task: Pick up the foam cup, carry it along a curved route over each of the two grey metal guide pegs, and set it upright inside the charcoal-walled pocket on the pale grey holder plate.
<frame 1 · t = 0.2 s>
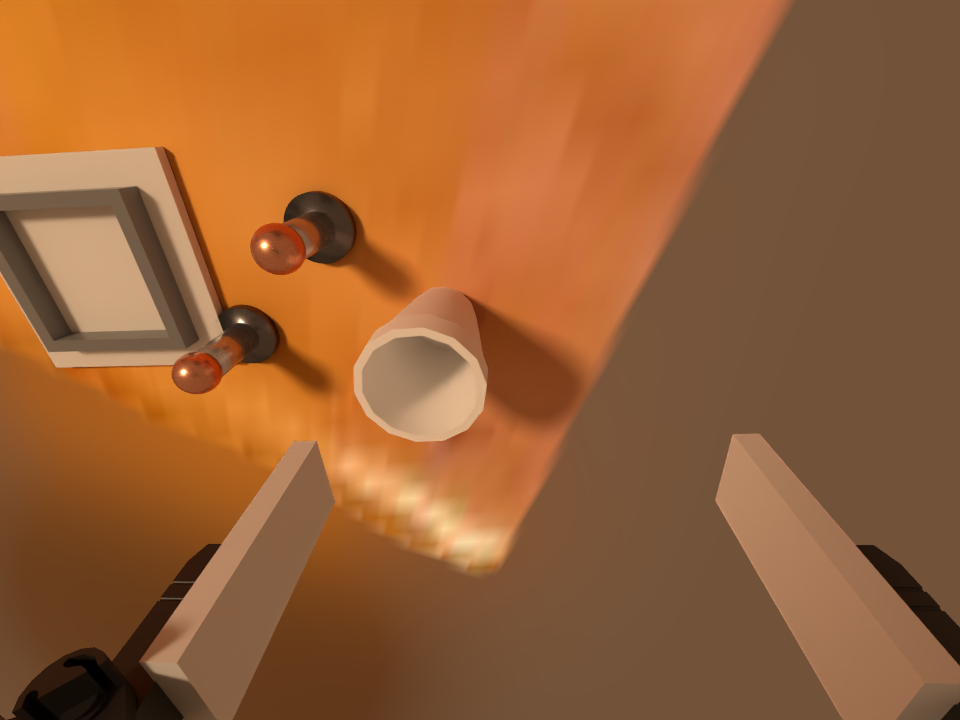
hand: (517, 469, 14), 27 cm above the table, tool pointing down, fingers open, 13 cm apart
guide pegs: (283, 283, 40), on the table
foam cup: (443, 317, 41), on the table
holder: (107, 269, 40), on the table
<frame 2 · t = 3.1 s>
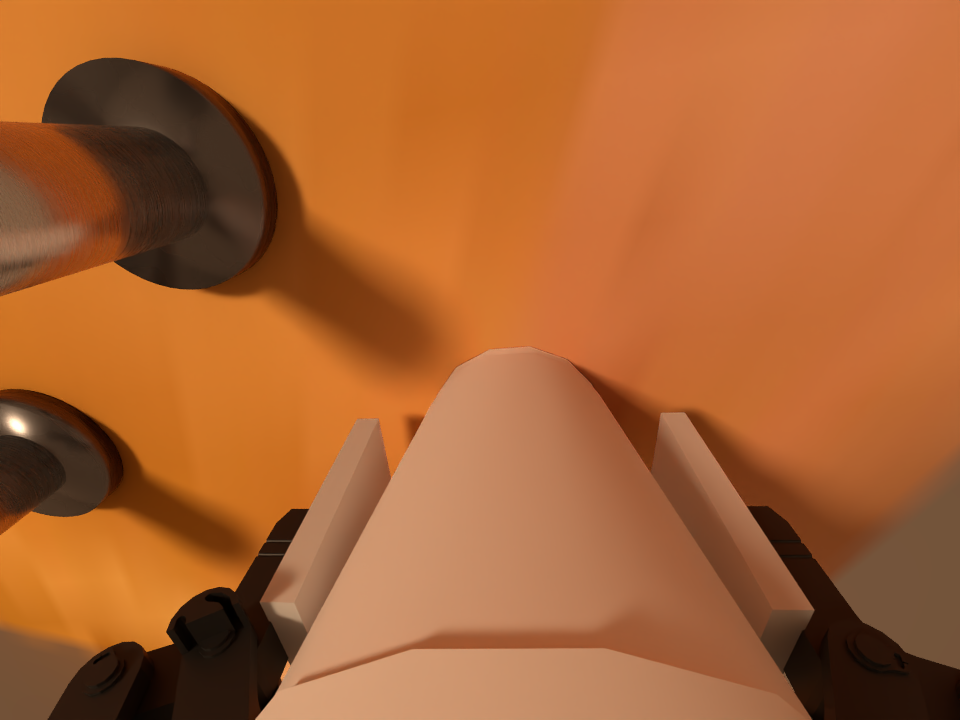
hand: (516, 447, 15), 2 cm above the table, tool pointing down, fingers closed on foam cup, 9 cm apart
guide pegs: (103, 339, 15), on the table
foam cup: (515, 417, 16), on the table, touching gripper
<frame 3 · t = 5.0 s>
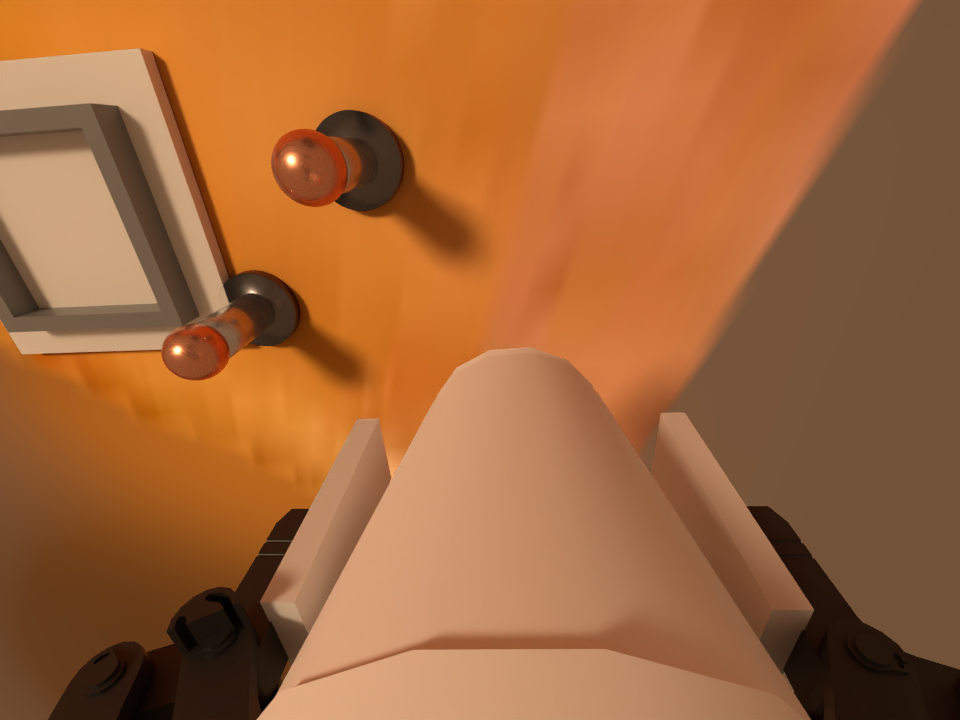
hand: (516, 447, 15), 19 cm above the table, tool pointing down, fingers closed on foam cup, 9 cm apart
guide pegs: (307, 240, 31), on the table
foam cup: (515, 417, 16), point 18 cm above the table, touching gripper
holder: (82, 225, 32), on the table
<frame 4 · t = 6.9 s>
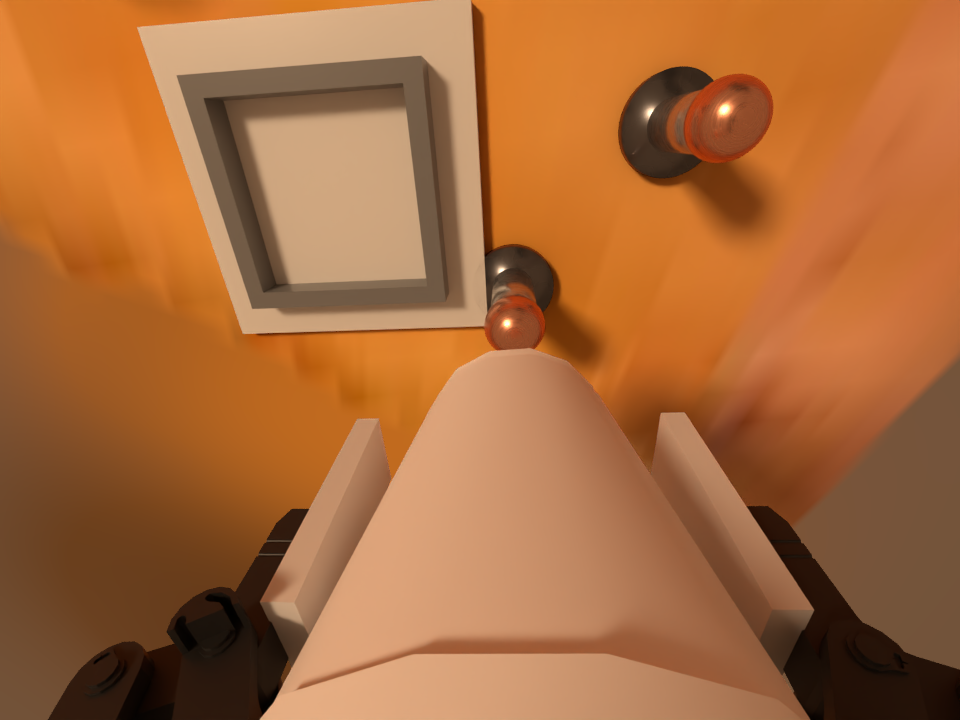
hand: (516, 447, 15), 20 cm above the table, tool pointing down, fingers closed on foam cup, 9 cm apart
guide pegs: (582, 212, 30), on the table
foam cup: (516, 418, 16), point 18 cm above the table, touching gripper
holder: (340, 194, 30), on the table
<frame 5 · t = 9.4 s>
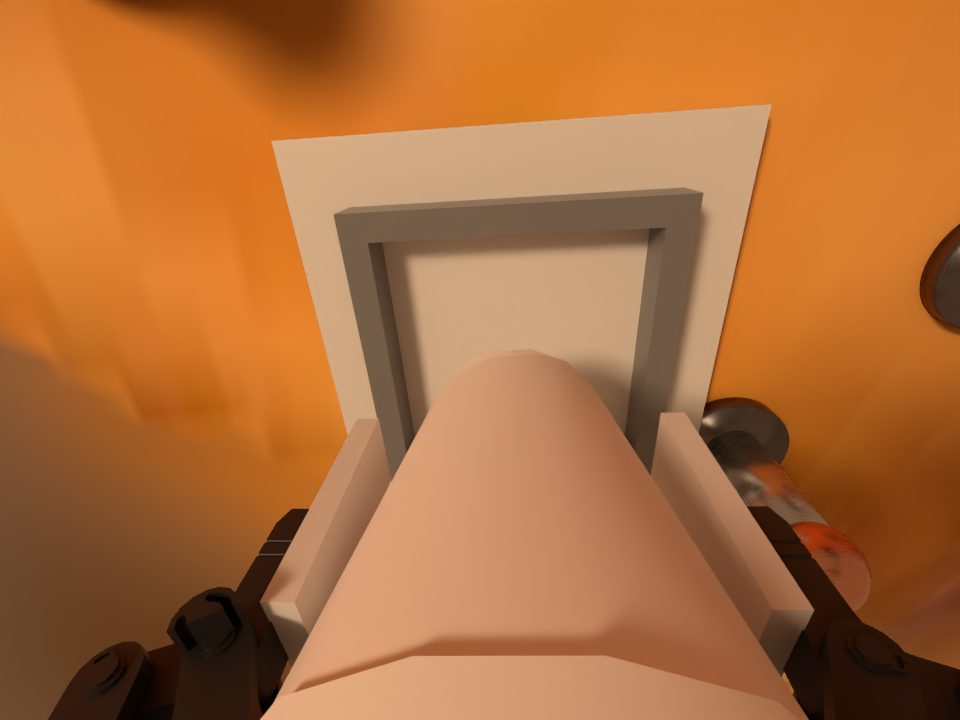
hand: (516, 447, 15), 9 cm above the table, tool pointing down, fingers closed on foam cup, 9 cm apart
guide pegs: (842, 363, 22), on the table
foam cup: (515, 419, 16), point 7 cm above the table, touching gripper
holder: (515, 338, 22), on the table
when the fingers open (4 cm above the table, at t = 11.1 s): foam cup drops 1 cm, resting on holder.
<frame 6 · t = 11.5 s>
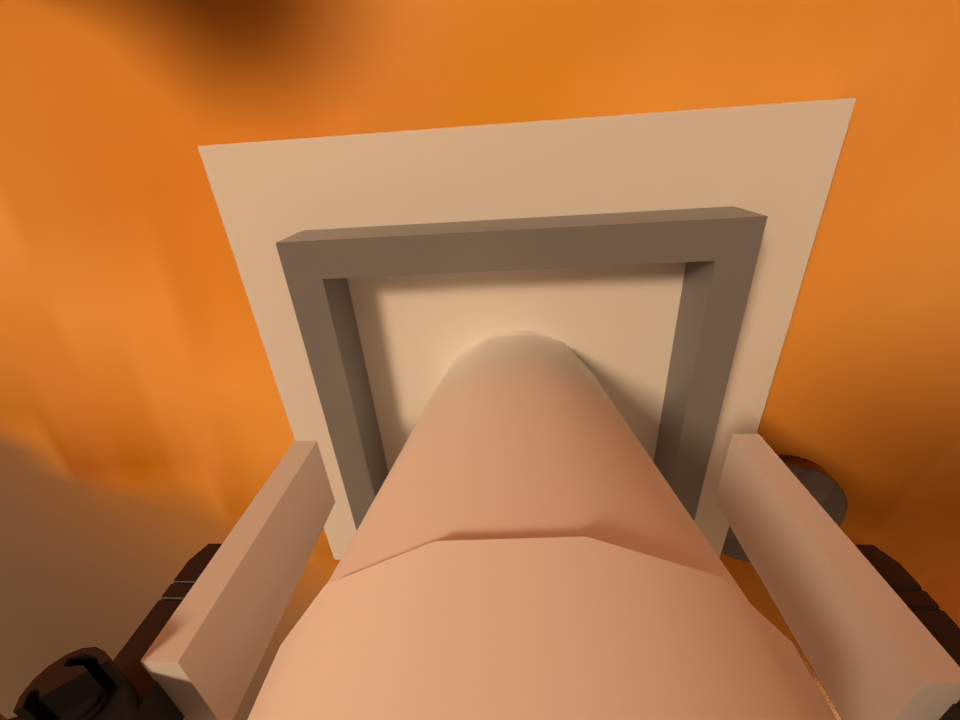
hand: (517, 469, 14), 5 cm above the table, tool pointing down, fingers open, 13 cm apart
guide pegs: (916, 417, 18), on the table
foam cup: (516, 397, 18), point 1 cm above the table, touching holder
holder: (514, 386, 18), on the table
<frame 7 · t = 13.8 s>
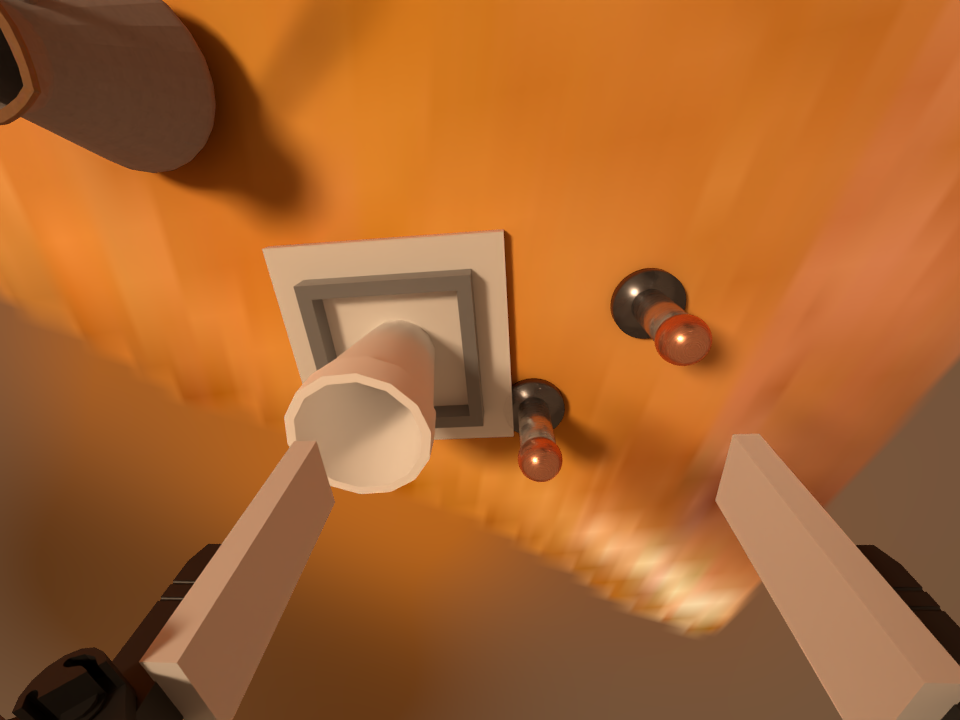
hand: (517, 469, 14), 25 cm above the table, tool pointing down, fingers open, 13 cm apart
guide pegs: (585, 356, 39), on the table
coffee pot: (173, 13, 29), on the table
foam cup: (401, 350, 39), point 1 cm above the table, touching holder
holder: (402, 347, 39), on the table
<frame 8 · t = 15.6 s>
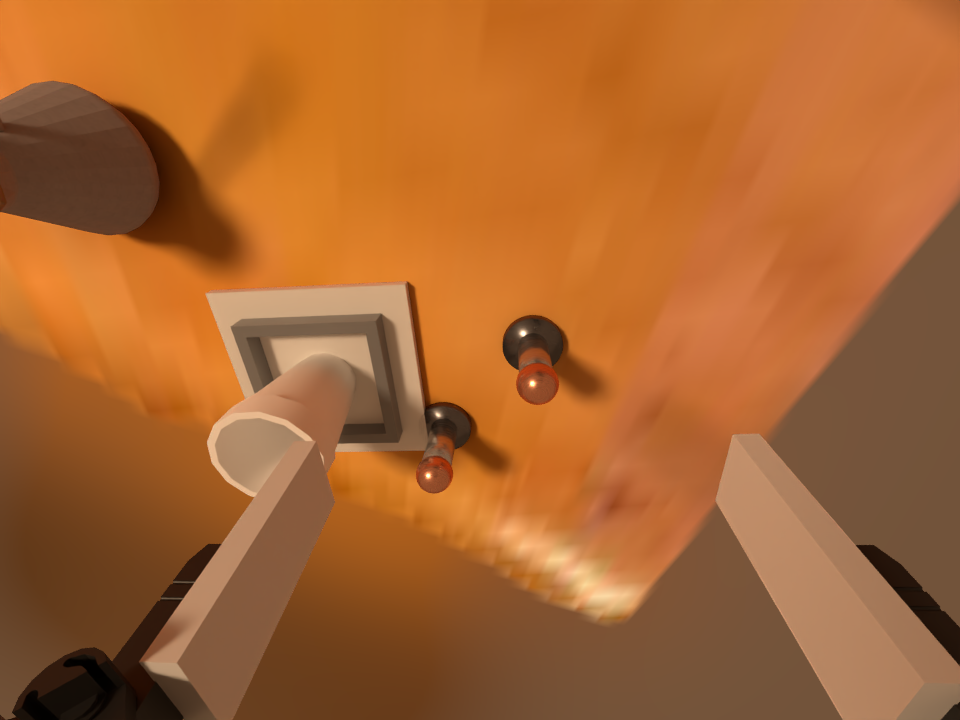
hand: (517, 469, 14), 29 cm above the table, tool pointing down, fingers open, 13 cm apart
guide pegs: (486, 385, 46), on the table
coffee pot: (123, 107, 35), on the table
foam cup: (328, 377, 45), point 1 cm above the table, touching holder
holder: (330, 374, 46), on the table
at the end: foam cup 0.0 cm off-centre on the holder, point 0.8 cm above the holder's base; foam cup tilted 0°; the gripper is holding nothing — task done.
